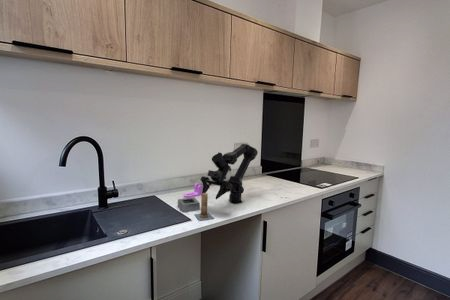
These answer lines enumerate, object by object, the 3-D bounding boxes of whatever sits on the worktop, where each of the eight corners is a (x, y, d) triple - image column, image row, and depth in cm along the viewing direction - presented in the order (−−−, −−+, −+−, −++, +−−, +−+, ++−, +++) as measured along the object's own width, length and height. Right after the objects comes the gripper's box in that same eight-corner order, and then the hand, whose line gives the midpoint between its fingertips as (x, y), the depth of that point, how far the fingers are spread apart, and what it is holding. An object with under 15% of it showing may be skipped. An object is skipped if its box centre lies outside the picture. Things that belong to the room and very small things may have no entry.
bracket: (198, 192, 166) (199, 183, 165) (203, 195, 162) (203, 184, 161) (182, 196, 158) (182, 186, 157) (186, 198, 154) (186, 188, 153)
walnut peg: (203, 213, 130) (204, 192, 128) (210, 215, 127) (210, 193, 125) (197, 216, 126) (198, 194, 124) (204, 218, 123) (205, 196, 122)
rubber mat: (208, 213, 132) (208, 212, 132) (213, 218, 125) (214, 218, 125) (194, 215, 129) (194, 214, 128) (199, 221, 121) (199, 220, 121)
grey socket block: (194, 203, 145) (194, 197, 144) (199, 209, 136) (199, 202, 135) (177, 205, 141) (177, 199, 140) (182, 212, 132) (182, 205, 131)
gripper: (202, 162, 136) (188, 185, 128) (230, 166, 125) (216, 192, 118) (211, 173, 143) (198, 196, 136) (237, 178, 132) (225, 203, 125)
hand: (209, 196), depth 128 cm, fingers open, 9 cm apart
